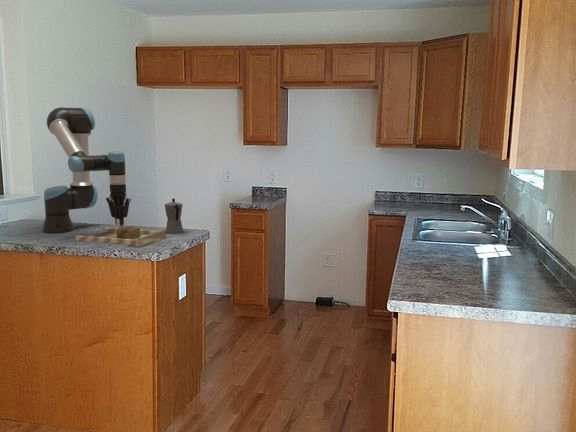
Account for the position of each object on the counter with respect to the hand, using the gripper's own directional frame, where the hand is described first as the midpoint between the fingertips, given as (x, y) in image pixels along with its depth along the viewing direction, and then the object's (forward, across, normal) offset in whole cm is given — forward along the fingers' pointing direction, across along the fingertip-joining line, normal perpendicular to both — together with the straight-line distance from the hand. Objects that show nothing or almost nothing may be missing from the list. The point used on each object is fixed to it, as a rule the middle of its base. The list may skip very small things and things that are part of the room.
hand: (120, 231), depth 262 cm
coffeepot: (+4, +17, +24) cm, 30 cm away
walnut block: (+3, +5, 0) cm, 6 cm away
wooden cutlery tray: (+4, +1, 0) cm, 4 cm away
